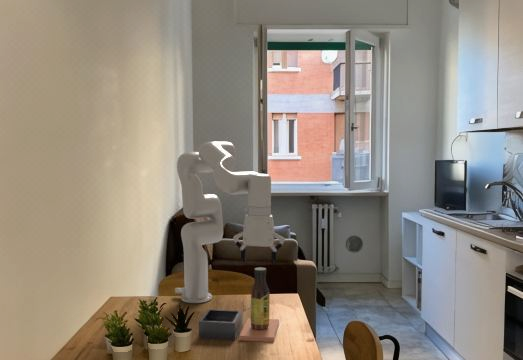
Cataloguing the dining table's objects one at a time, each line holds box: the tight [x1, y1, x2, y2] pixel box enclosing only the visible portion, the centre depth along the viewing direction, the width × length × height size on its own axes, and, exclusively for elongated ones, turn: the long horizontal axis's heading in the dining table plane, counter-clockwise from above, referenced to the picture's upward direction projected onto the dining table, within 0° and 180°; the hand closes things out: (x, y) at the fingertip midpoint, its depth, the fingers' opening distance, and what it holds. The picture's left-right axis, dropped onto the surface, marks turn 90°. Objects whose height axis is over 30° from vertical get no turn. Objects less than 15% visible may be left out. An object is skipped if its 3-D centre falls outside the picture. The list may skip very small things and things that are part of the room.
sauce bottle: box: [250, 266, 271, 330], centre depth 159 cm, size 6×6×20 cm
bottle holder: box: [198, 308, 243, 341], centre depth 160 cm, size 12×12×6 cm
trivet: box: [239, 317, 280, 343], centre depth 160 cm, size 11×16×2 cm
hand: (258, 262), depth 159 cm, fingers open, 9 cm apart
